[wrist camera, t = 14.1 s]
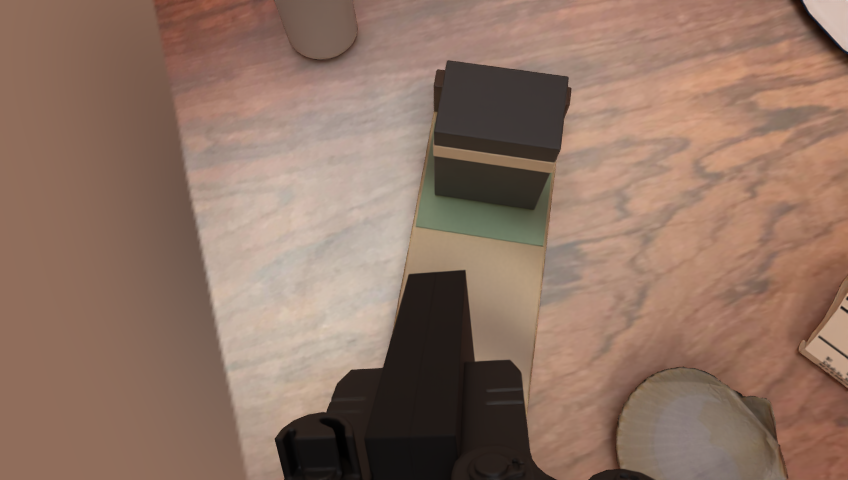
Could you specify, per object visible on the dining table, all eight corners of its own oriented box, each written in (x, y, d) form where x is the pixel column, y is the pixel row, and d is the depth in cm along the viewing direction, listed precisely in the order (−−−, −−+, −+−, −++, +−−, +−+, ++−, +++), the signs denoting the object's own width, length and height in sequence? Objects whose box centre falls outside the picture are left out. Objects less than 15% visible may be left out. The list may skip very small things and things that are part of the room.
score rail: (497, 648, 31) (505, 679, 27) (341, 617, 31) (327, 642, 27) (558, 120, 40) (571, 87, 36) (436, 103, 40) (436, 68, 36)
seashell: (605, 384, 36) (619, 533, 32) (609, 366, 34) (625, 525, 29) (757, 385, 35) (792, 541, 30) (773, 366, 32) (814, 534, 28)
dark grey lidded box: (535, 211, 36) (561, 151, 28) (433, 195, 36) (432, 132, 29) (543, 149, 37) (570, 75, 30) (444, 134, 38) (446, 58, 30)
